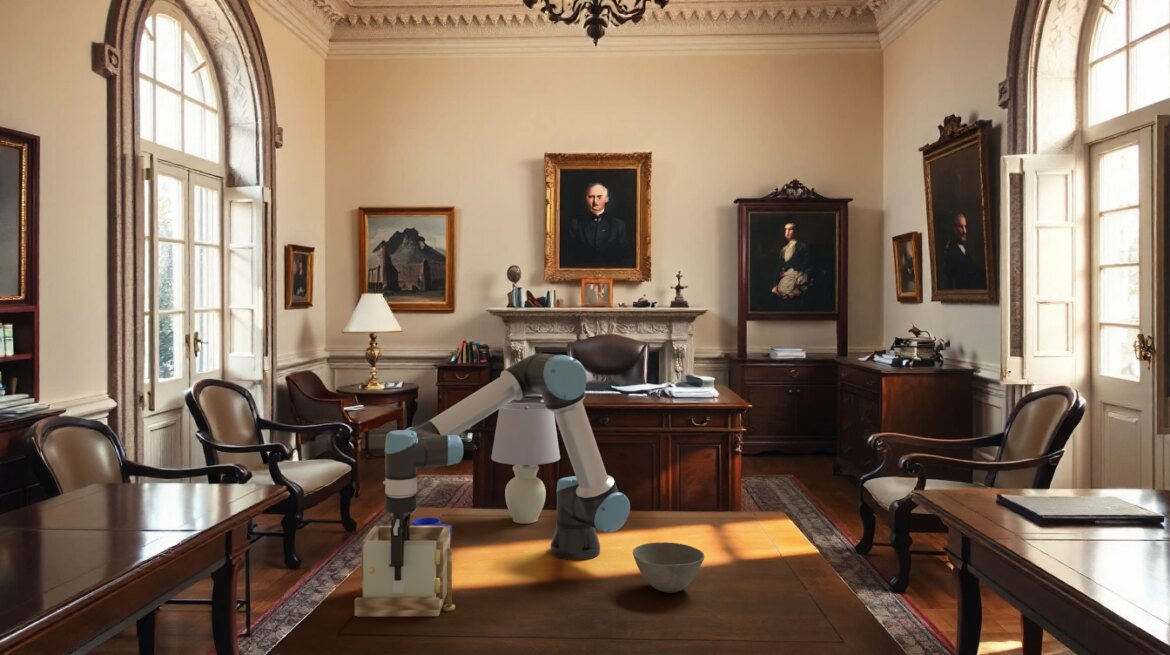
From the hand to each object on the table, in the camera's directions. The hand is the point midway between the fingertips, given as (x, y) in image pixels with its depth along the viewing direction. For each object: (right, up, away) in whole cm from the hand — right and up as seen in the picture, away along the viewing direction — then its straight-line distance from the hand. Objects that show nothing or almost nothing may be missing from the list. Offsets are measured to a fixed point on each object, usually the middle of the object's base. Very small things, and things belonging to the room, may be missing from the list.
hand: (400, 588), depth 193 cm
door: (0, -3, 0) cm, 3 cm away
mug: (0, -4, +43) cm, 43 cm away
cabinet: (+1, -5, +6) cm, 8 cm away
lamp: (+24, -3, +81) cm, 85 cm away
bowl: (+67, -6, +16) cm, 69 cm away
